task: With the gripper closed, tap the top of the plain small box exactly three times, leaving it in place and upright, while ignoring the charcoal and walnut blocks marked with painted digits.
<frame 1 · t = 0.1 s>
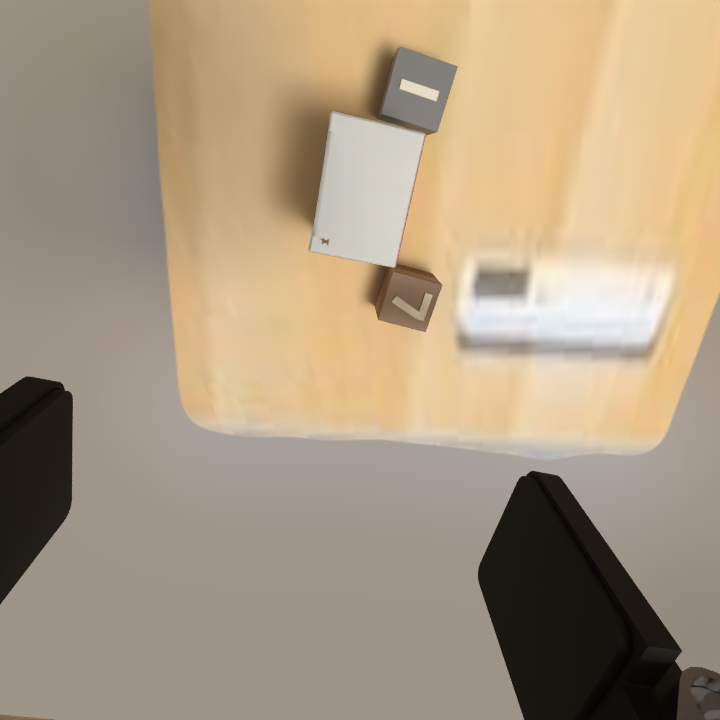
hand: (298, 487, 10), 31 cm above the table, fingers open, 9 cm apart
digit one block: (410, 98, 34), on the table
digit seven block: (403, 289, 40), on the table
small box: (358, 186, 37), on the table
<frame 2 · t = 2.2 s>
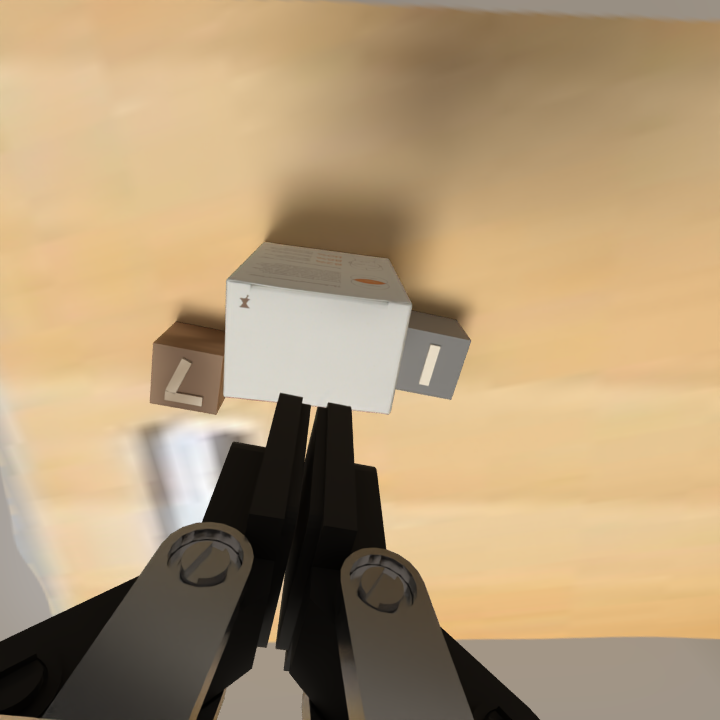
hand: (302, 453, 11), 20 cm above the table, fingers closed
digit one block: (419, 341, 31), on the table
digit seven block: (204, 354, 31), on the table
small box: (323, 290, 30), on the table
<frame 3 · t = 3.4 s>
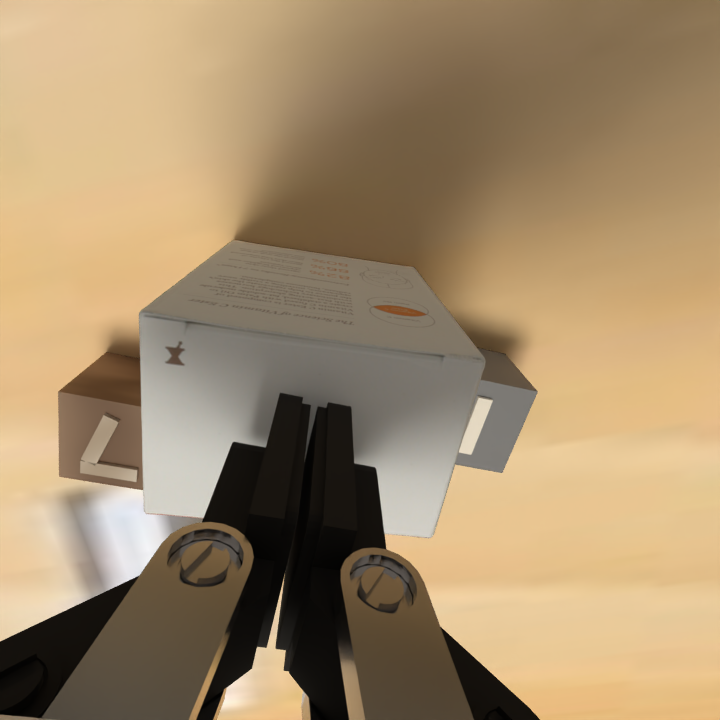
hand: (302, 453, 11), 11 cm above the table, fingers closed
digit one block: (451, 382, 23), on the table
digit seven block: (149, 397, 22), on the table
small box: (318, 311, 21), on the table
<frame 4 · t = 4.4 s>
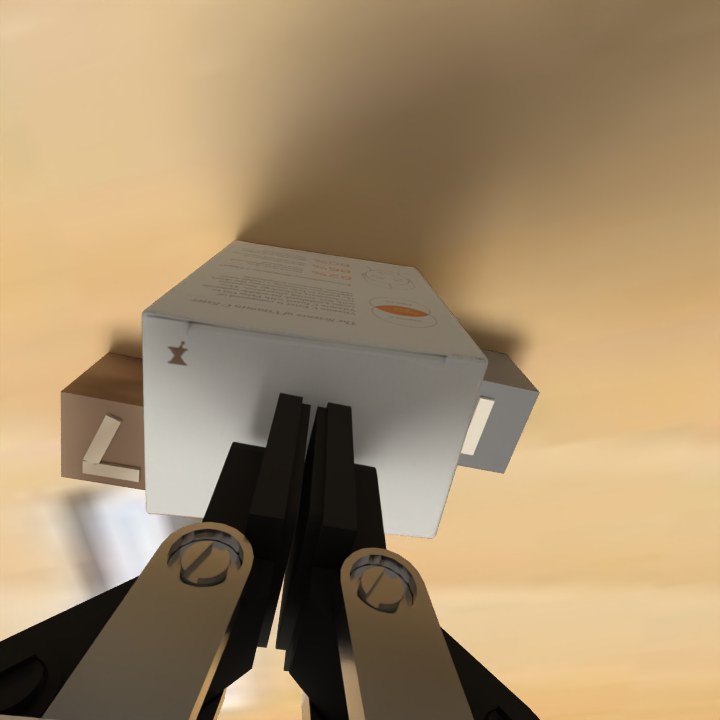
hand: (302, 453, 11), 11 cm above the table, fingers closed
digit one block: (453, 382, 23), on the table
digit seven block: (151, 398, 22), on the table
small box: (320, 311, 21), on the table
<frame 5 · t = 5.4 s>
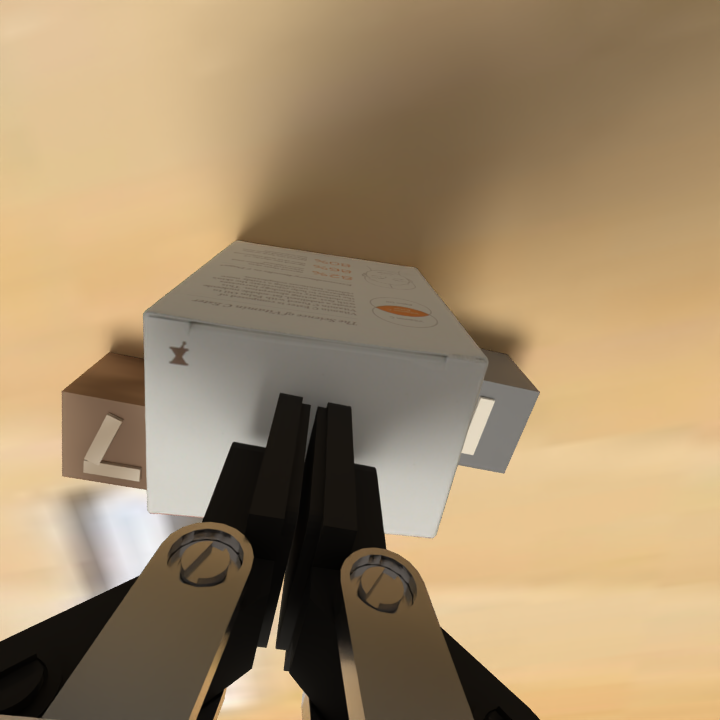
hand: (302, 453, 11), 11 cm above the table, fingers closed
digit one block: (453, 382, 23), on the table
digit seven block: (152, 397, 22), on the table
small box: (321, 311, 21), on the table
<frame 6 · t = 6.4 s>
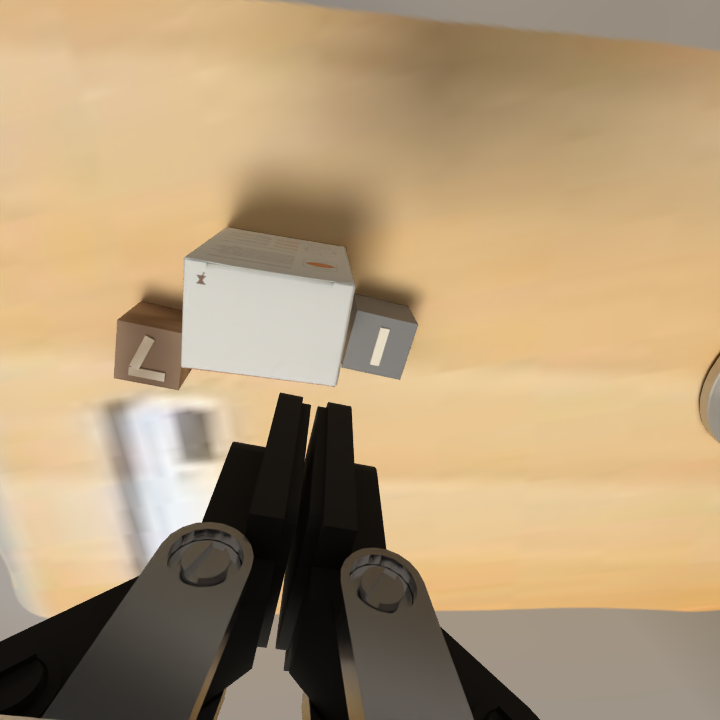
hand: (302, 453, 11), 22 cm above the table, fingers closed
digit one block: (373, 325, 34), on the table
digit seven block: (168, 334, 33), on the table
small box: (283, 275, 32), on the table
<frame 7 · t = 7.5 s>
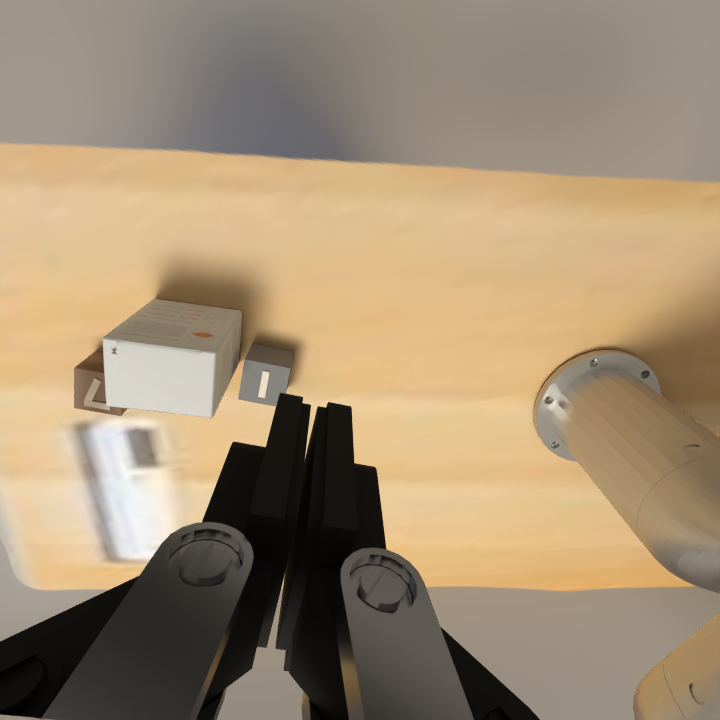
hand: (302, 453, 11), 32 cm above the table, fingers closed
digit one block: (270, 365, 45), on the table
digit seven block: (118, 373, 45), on the table
small box: (199, 330, 43), on the table
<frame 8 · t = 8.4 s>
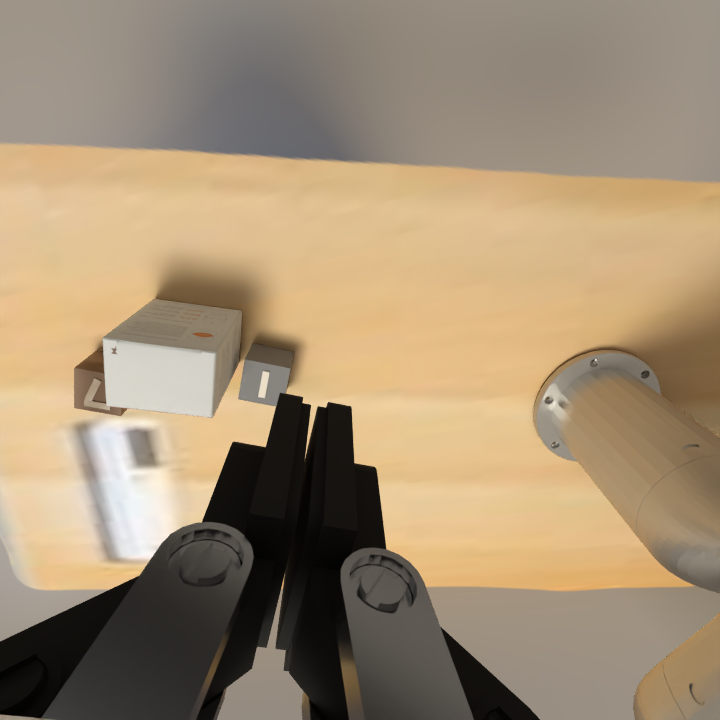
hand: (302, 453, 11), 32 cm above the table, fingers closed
digit one block: (270, 365, 45), on the table
digit seven block: (118, 373, 45), on the table
small box: (199, 331, 43), on the table
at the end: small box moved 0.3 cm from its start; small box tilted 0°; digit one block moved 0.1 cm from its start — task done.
